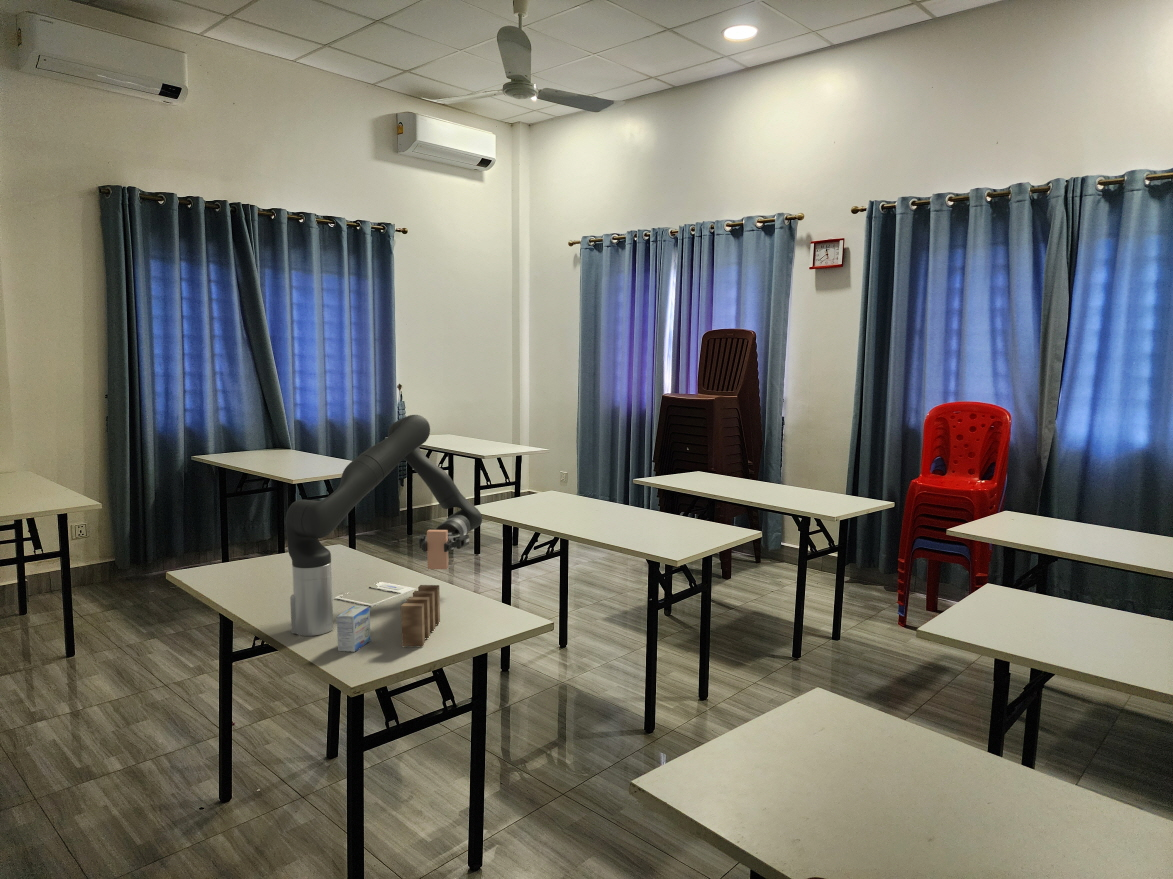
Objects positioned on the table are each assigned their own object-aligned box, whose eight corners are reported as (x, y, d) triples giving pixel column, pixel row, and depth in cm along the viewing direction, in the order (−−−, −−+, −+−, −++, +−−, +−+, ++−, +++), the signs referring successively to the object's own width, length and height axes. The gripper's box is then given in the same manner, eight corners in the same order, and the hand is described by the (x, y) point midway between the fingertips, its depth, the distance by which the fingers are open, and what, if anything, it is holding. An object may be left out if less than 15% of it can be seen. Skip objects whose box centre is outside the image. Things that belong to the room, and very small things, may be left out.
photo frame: (416, 587, 223) (371, 604, 207) (416, 591, 223) (371, 608, 207) (380, 580, 230) (334, 596, 214) (380, 584, 230) (334, 600, 214)
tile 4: (408, 639, 183) (407, 599, 182) (410, 636, 185) (409, 596, 184) (428, 639, 183) (427, 599, 182) (430, 636, 185) (429, 597, 184)
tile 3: (413, 631, 188) (412, 593, 187) (415, 629, 190) (414, 590, 189) (433, 632, 188) (432, 593, 187) (435, 629, 190) (434, 590, 189)
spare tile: (427, 569, 195) (426, 531, 194) (429, 566, 197) (428, 529, 196) (446, 569, 194) (445, 531, 193) (448, 567, 196) (447, 529, 195)
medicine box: (354, 652, 174) (353, 616, 173) (337, 651, 175) (336, 615, 174) (371, 640, 182) (370, 606, 181) (354, 639, 183) (353, 605, 182)
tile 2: (419, 624, 193) (418, 587, 192) (421, 622, 195) (420, 584, 194) (438, 625, 193) (437, 587, 192) (440, 622, 194) (439, 585, 194)
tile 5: (402, 646, 178) (400, 605, 177) (404, 643, 180) (403, 603, 179) (422, 647, 178) (421, 606, 177) (424, 643, 180) (424, 603, 179)
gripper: (425, 519, 209) (407, 533, 192) (476, 520, 208) (462, 534, 191) (426, 545, 210) (407, 561, 193) (476, 546, 209) (462, 562, 192)
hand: (435, 547), depth 192 cm, fingers closed on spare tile, 5 cm apart
